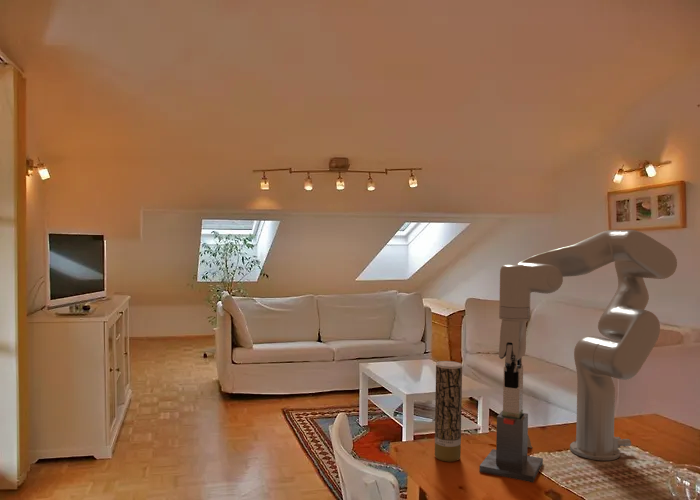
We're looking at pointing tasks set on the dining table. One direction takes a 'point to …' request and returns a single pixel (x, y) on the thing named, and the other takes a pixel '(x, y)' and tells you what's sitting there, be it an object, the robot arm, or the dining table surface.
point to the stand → (512, 451)
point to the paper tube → (448, 411)
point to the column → (513, 397)
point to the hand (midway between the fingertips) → (513, 384)
